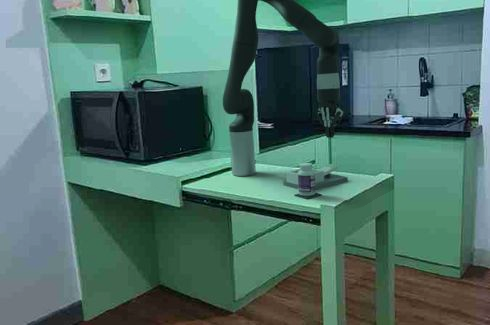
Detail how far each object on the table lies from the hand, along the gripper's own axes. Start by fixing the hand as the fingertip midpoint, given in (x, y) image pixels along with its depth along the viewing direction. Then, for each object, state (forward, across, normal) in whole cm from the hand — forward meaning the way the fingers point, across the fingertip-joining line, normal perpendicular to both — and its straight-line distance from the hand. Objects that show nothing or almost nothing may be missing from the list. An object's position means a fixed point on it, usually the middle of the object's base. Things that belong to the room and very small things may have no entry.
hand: (330, 137), depth 156 cm
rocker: (+11, 0, -2) cm, 12 cm away
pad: (+15, +10, -19) cm, 26 cm away
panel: (+15, 0, -8) cm, 17 cm away
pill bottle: (+15, +10, -19) cm, 26 cm away
